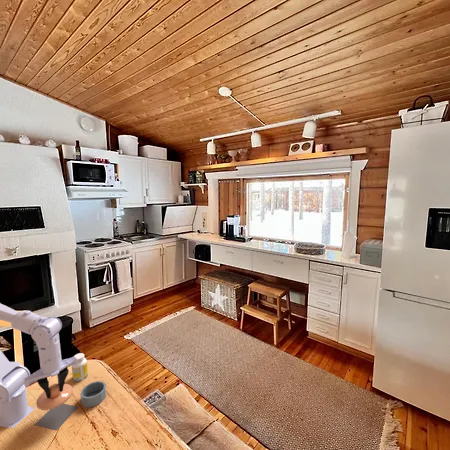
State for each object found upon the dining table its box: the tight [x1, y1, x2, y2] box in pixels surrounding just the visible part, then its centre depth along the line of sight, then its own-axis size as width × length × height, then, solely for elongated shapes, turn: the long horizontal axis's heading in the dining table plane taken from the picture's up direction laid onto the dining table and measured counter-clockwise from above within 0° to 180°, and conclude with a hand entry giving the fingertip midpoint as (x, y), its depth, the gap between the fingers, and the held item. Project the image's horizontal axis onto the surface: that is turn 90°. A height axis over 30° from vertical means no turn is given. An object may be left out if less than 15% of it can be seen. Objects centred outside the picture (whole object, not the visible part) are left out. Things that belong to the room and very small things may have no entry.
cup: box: [79, 380, 107, 408], centre depth 93 cm, size 8×8×4 cm
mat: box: [33, 403, 79, 431], centre depth 86 cm, size 9×9×1 cm
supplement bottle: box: [71, 352, 89, 383], centre depth 103 cm, size 5×5×10 cm
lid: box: [35, 383, 73, 411], centre depth 85 cm, size 10×10×4 cm
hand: (54, 393), depth 85 cm, fingers closed on lid, 3 cm apart
